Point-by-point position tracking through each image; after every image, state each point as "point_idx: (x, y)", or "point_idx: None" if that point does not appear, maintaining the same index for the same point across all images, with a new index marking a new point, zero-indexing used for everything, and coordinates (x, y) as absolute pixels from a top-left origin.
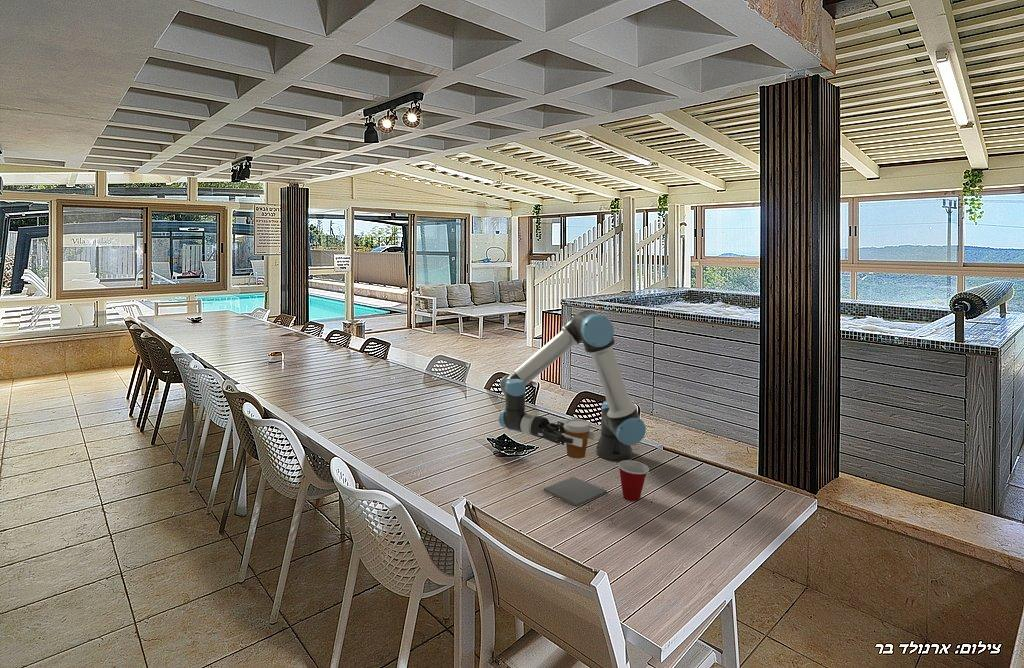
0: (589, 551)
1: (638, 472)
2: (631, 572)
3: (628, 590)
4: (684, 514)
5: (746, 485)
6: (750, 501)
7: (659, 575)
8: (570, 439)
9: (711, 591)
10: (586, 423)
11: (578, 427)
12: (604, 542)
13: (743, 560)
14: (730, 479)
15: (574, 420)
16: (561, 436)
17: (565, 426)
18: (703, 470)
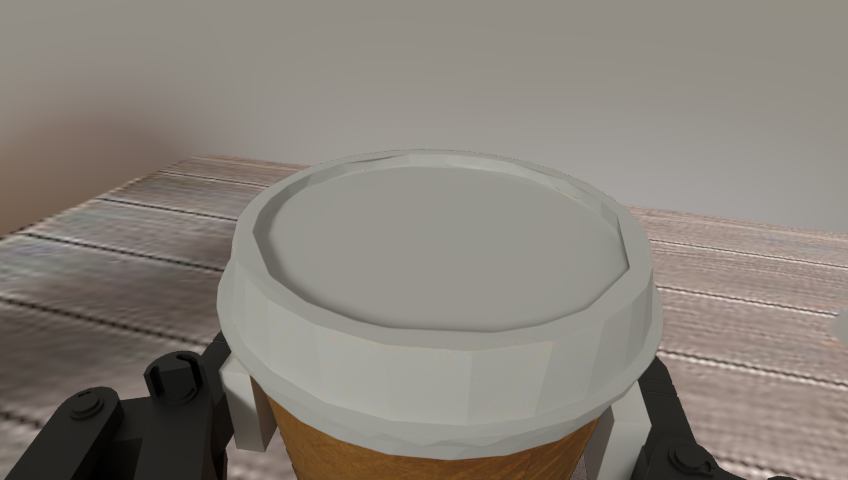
0: (833, 401)
1: None
2: (776, 300)
3: (840, 291)
4: None
5: (138, 206)
6: (244, 199)
7: (719, 264)
8: (654, 363)
9: (670, 213)
10: (356, 181)
11: (584, 188)
12: (736, 382)
13: None
14: (94, 227)
15: (279, 288)
16: (717, 477)
17: (633, 343)
18: (6, 273)
